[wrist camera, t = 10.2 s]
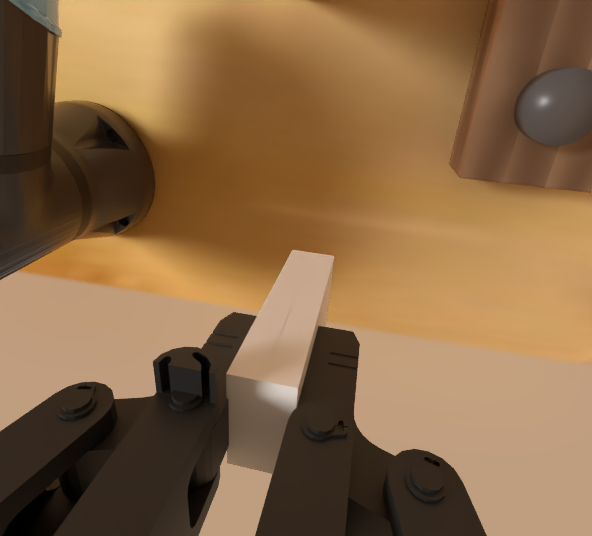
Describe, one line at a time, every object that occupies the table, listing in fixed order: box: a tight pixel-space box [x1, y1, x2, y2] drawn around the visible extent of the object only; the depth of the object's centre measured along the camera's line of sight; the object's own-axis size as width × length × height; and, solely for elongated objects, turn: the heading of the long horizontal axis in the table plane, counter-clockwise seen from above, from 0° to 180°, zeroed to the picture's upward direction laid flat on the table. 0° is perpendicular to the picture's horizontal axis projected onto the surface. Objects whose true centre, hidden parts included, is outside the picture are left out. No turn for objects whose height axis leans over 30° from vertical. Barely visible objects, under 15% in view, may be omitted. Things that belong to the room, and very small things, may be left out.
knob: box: [514, 68, 592, 146], centre depth 30 cm, size 5×5×7 cm
